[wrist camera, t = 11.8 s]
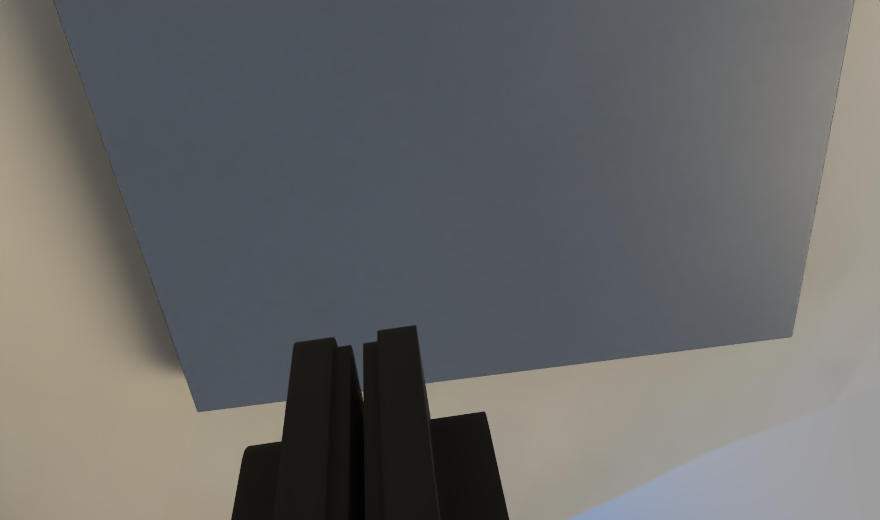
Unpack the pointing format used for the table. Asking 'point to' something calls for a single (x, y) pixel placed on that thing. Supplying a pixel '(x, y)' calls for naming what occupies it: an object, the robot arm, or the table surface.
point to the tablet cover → (462, 174)
